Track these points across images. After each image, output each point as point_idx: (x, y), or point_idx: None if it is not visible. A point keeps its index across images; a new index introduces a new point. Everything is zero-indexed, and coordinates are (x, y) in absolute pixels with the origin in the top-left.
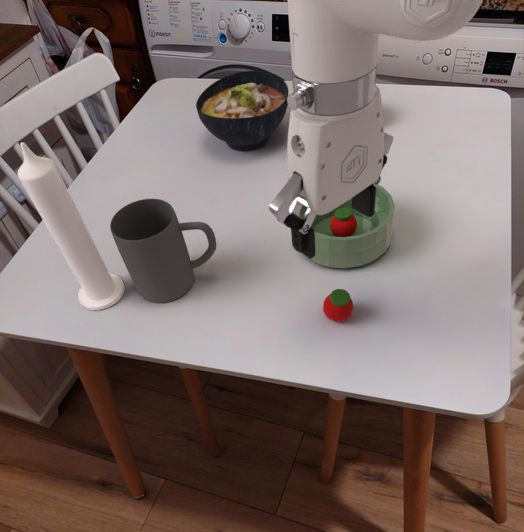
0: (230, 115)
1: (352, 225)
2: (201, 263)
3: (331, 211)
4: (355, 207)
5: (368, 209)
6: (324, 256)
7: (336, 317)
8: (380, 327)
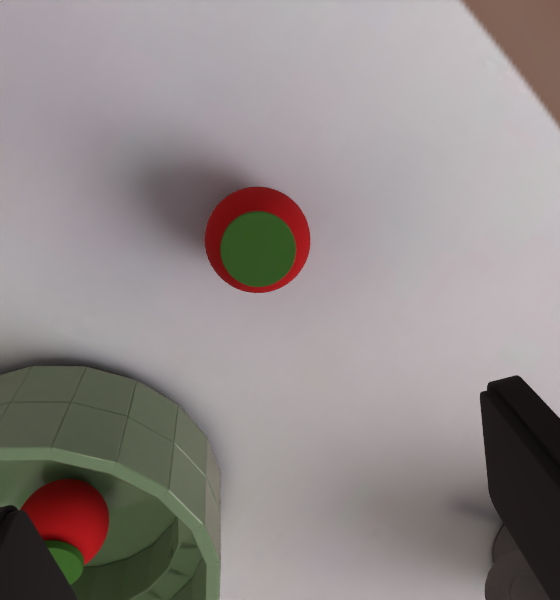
0: None
1: (40, 512)
2: (515, 557)
3: None
4: (63, 597)
5: (4, 559)
6: (186, 441)
7: (290, 199)
8: (154, 107)
